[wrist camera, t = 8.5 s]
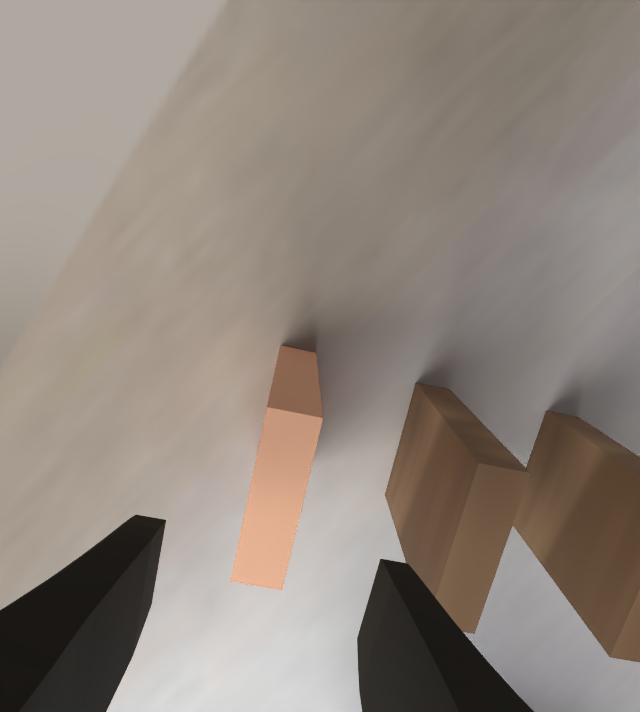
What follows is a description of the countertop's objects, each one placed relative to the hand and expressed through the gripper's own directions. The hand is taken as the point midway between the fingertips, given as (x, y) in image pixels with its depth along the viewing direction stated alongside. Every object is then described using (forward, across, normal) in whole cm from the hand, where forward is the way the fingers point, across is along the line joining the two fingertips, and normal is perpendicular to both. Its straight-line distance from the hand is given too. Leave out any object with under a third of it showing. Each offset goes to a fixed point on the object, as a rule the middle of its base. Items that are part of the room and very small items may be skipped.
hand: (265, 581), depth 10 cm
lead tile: (+9, 0, 0) cm, 9 cm away
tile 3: (+9, -11, 0) cm, 14 cm away
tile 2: (+9, -6, 0) cm, 11 cm away
